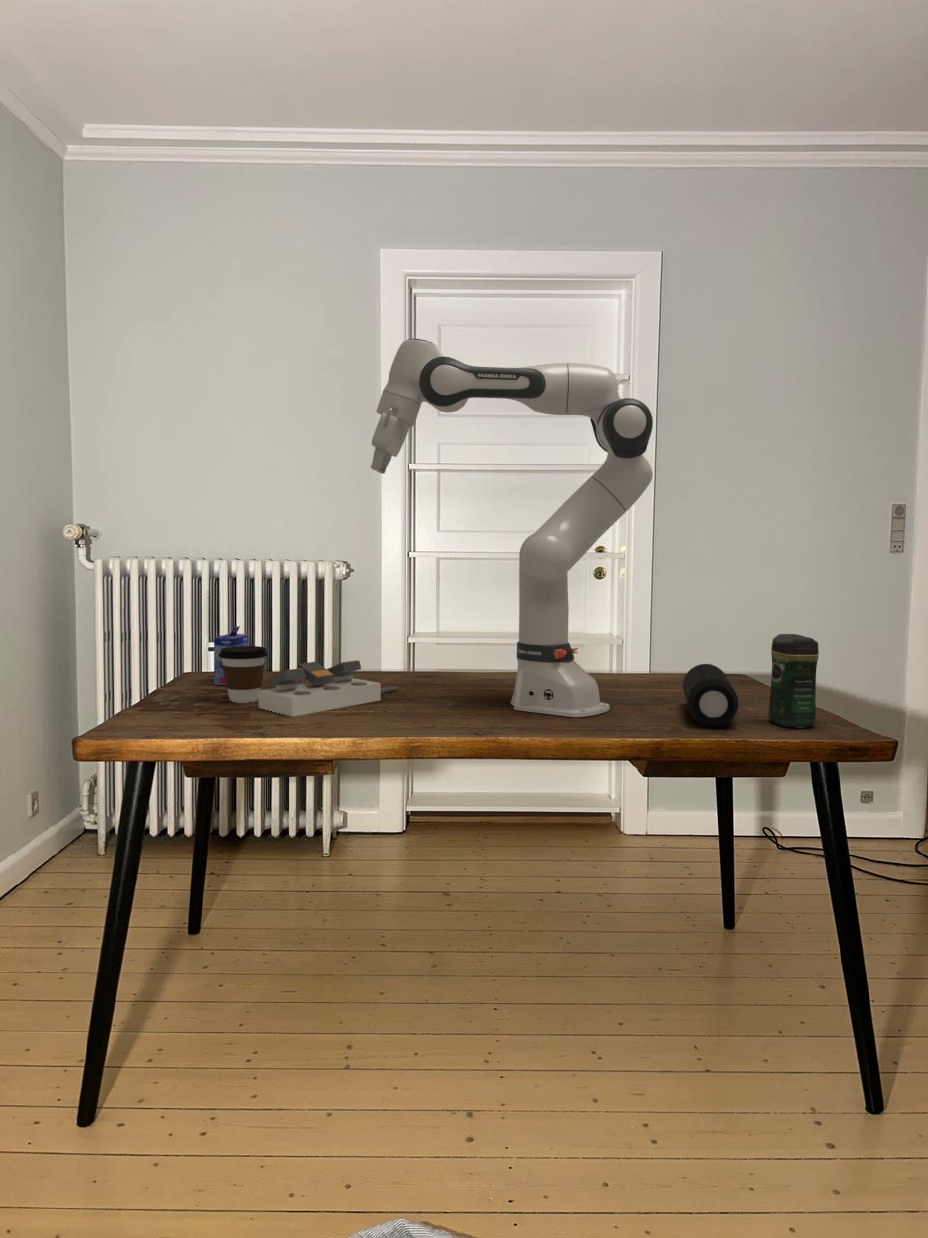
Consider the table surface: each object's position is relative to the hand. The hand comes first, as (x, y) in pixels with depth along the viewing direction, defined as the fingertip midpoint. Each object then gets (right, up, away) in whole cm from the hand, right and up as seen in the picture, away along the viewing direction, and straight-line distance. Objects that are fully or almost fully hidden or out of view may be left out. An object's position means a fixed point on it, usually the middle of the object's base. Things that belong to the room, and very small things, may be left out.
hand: (377, 471), depth 195 cm
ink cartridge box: (-40, -49, +29) cm, 70 cm away
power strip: (-9, -52, +7) cm, 53 cm away
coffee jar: (+87, -55, -14) cm, 103 cm away
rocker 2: (-14, -45, +3) cm, 47 cm away
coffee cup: (-31, -52, +6) cm, 61 cm away
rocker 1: (-20, -46, -3) cm, 50 cm away
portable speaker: (+71, -54, -7) cm, 90 cm away
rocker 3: (-9, -44, +9) cm, 46 cm away
